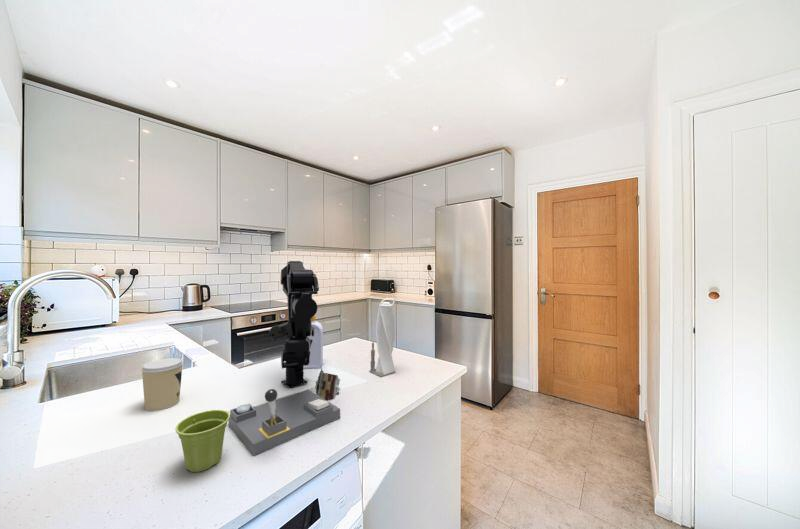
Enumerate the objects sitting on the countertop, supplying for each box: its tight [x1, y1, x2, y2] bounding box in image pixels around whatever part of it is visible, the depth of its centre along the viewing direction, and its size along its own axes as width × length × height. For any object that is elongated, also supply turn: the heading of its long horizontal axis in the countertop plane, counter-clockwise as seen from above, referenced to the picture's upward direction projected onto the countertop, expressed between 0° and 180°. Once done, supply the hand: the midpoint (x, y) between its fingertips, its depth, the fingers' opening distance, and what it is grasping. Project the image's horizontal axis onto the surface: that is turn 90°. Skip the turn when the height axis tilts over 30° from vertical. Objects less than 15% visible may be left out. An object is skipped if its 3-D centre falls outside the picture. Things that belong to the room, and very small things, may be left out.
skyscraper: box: [368, 297, 397, 378], centre depth 113 cm, size 8×8×28 cm
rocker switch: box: [308, 399, 330, 410], centre depth 79 cm, size 5×3×1 cm, turn 46°
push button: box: [236, 403, 251, 415], centre depth 75 cm, size 3×3×1 cm
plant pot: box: [175, 409, 230, 473], centre depth 61 cm, size 9×9×9 cm
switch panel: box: [227, 388, 341, 456], centre depth 77 cm, size 17×22×4 cm
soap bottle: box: [303, 314, 324, 370], centre depth 118 cm, size 9×7×23 cm
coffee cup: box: [140, 357, 184, 412], centre depth 86 cm, size 9×9×12 cm
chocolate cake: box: [314, 367, 341, 401], centre depth 95 cm, size 10×7×12 cm
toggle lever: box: [264, 388, 278, 426], centre depth 67 cm, size 3×3×11 cm
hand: (300, 367), depth 86 cm, fingers closed
